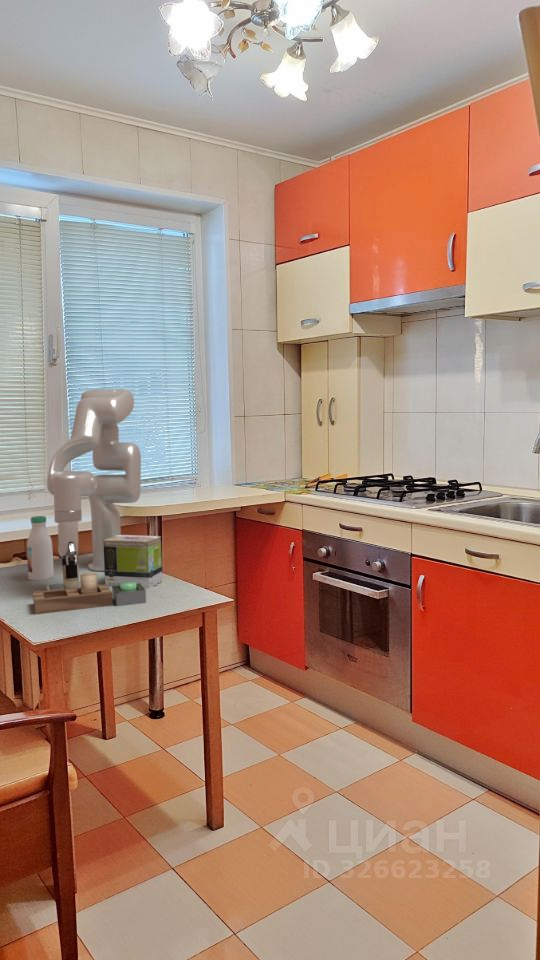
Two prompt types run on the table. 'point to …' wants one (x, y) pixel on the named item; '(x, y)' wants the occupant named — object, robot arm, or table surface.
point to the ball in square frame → (128, 595)
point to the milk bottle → (39, 551)
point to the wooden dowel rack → (71, 599)
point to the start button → (128, 586)
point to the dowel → (70, 580)
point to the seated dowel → (88, 583)
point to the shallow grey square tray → (57, 586)
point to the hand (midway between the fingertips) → (70, 574)
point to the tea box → (133, 560)
